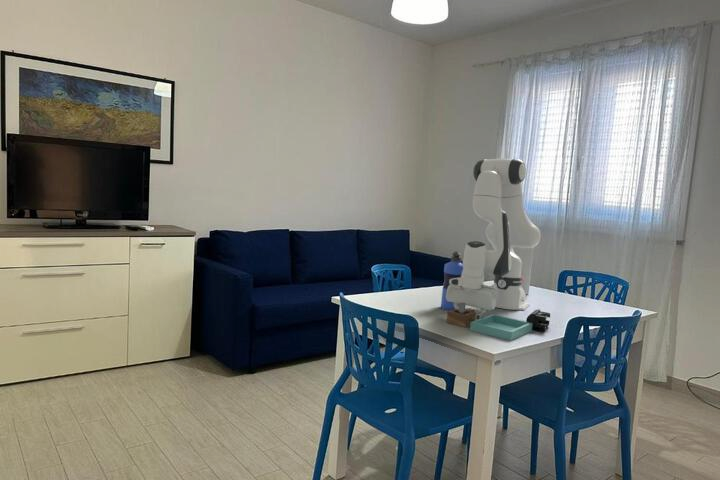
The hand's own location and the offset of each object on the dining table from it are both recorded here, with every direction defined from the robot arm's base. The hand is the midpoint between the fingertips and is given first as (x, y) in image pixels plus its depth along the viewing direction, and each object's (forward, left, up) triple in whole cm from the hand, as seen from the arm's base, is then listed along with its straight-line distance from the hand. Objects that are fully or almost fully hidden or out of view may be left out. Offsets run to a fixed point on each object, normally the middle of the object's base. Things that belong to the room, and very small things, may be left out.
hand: (468, 316), depth 208 cm
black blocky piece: (-13, +23, -2) cm, 27 cm away
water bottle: (-13, -15, -2) cm, 20 cm away
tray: (+3, +15, -2) cm, 15 cm away
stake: (+7, 0, -2) cm, 7 cm away
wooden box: (+4, 0, -2) cm, 4 cm away
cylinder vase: (-79, -12, -2) cm, 80 cm away
